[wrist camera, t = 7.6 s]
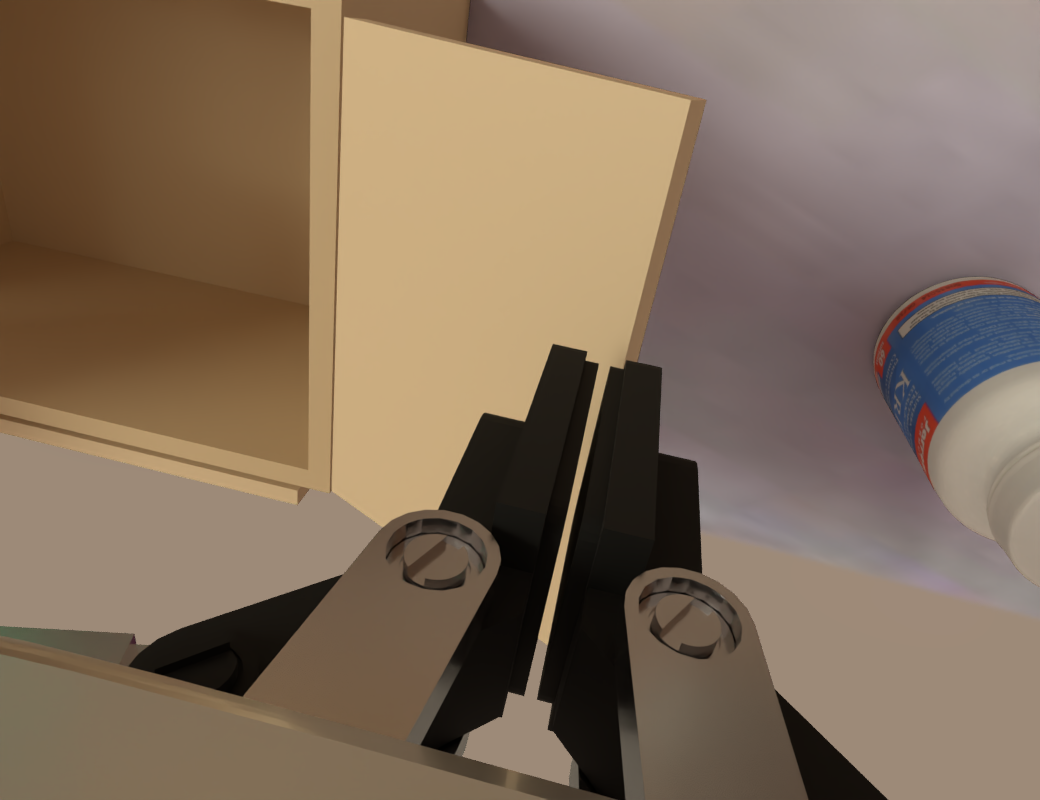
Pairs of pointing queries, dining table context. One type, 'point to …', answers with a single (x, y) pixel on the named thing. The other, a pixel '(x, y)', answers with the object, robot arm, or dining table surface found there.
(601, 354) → the long flap
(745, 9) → the dining table surface
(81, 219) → the carton
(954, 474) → the pill bottle
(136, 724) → the robot arm
